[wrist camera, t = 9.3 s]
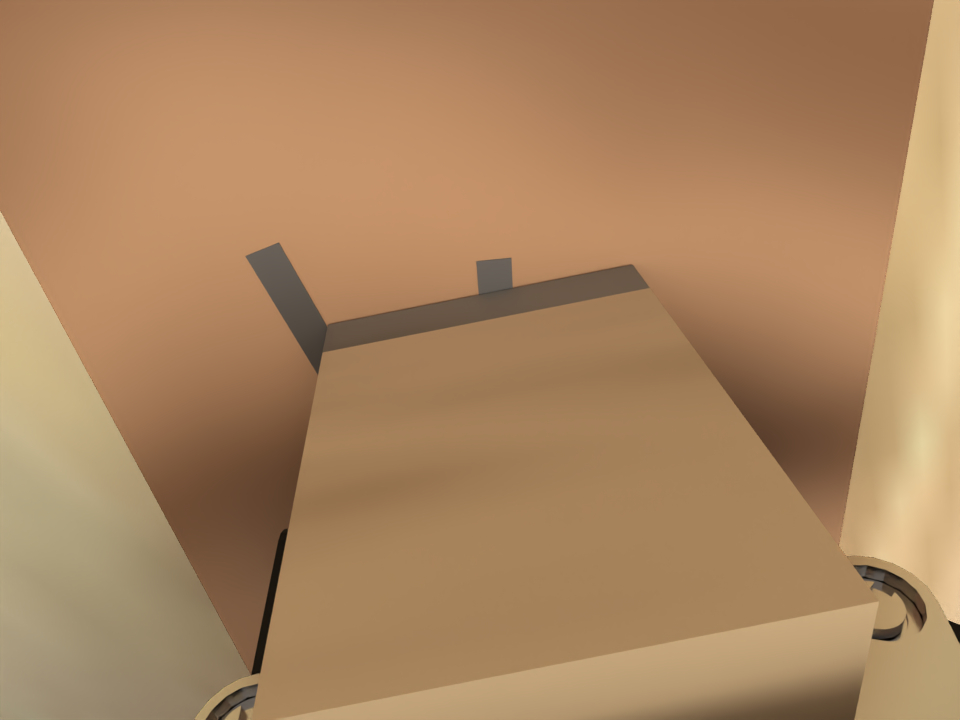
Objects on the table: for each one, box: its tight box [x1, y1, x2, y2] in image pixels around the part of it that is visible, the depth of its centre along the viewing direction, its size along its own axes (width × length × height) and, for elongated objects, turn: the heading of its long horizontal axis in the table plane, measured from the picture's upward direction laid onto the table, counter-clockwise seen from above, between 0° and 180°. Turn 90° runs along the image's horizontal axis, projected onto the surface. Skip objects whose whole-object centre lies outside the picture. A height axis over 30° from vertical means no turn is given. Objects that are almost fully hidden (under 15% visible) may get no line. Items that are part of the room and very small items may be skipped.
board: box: [0, 0, 934, 674], centre depth 12 cm, size 24×12×2 cm, turn 9°
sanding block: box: [251, 265, 879, 720], centre depth 9 cm, size 7×4×6 cm, turn 10°
